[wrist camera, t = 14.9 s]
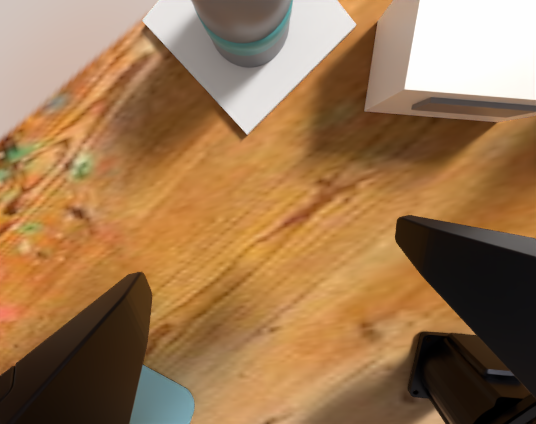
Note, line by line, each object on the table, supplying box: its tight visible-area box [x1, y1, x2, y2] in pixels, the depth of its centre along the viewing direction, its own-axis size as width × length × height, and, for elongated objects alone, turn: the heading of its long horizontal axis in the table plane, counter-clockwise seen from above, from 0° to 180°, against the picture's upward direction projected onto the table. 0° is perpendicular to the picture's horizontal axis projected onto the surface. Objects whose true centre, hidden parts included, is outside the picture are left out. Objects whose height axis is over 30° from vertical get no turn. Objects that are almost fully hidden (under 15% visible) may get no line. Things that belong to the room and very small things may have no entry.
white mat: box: [142, 0, 356, 135], centre depth 18 cm, size 10×10×1 cm
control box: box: [364, 0, 536, 122], centre depth 15 cm, size 7×10×6 cm
